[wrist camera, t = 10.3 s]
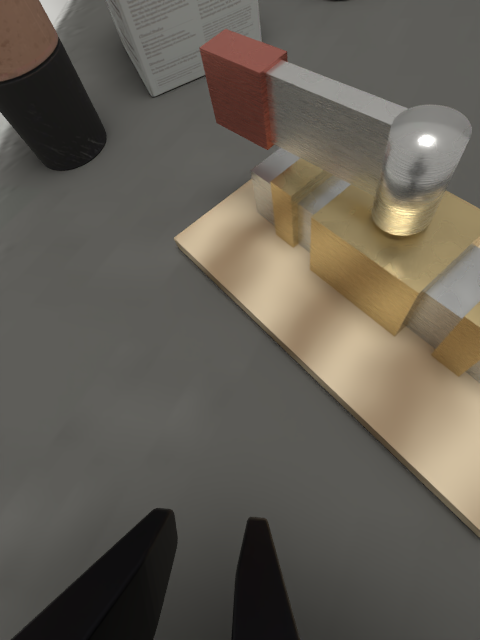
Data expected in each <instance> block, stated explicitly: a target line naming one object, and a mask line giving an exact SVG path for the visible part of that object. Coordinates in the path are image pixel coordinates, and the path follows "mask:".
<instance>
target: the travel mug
mask: <svg viewBox="0 0 480 640" xmlns="http://www.w3.org/2000/svg"><path fill="white" fill-rule="evenodd" d="M0 112H1V113H2V115H3V116H4V117H5V118H6V119H7V121H8V122H9V123H10V124H11V125H12V127H13V128H14V129H15V130H16V131H17V133H18V134H19V135H20V136H21V138H22V139H23V140H24V141H25V142H26V144H27V145H28V146H29V147H30V148H31V150H32V151H33V152H34V153H35V154H36V156H37V157H38V158H39V159H40V160H41V161H42V162H43V164H45V165H46V166H47V167H49V168H51V169H54V170H69V169H73V168H76V167H79V166H81V165H83V164H85V163H87V162H89V161H90V160H92V159H93V158H94V157H95V156H96V155H97V154H98V153H99V152H100V151H101V150H102V148H103V146H104V144H105V142H106V132H105V129H104V127H103V125H102V123H101V121H100V119H99V117H98V115H97V113H96V111H95V109H94V107H93V105H92V103H91V101H90V99H89V97H88V95H87V93H86V91H85V89H84V87H83V85H82V83H81V81H80V79H79V77H78V75H77V73H76V71H75V69H74V67H73V65H72V63H71V61H70V59H69V57H68V55H67V53H66V51H65V49H64V47H63V45H62V43H61V41H60V39H59V37H58V35H57V33H56V31H55V29H54V27H53V25H52V23H51V22H50V20H49V18H48V16H47V14H46V13H45V11H44V9H43V7H42V5H41V3H40V1H39V0H0Z"/></svg>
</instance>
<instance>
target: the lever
mask: <svg viewBox="0 0 480 640" xmlns="http://www.w3.org/2000/svg"><path fill="white" fill-rule="evenodd" d="M199 49H200V53H201V58H202V62H203V66H204V71H205V75H206V79H207V84H208V88H209V92H210V97H211V101H212V105H213V109H214V114H215V118H216V122H217V123H218V124H220V125H222V126H224V127H225V128H227V129H229V130H231V131H233V132H235V133H237V134H239V135H240V136H242V137H244V138H246V139H248V140H250V141H252V142H254V143H255V144H257V145H259V146H261V147H263V148H265V149H267V150H268V149H269V148H271V147H272V146H273V145H276V146H278V147H280V148H282V149H284V150H286V151H288V152H290V153H292V154H294V155H296V156H298V157H299V158H301V159H303V160H305V161H307V162H309V163H311V164H313V165H315V166H317V167H319V168H321V169H323V170H324V171H326V172H328V173H330V174H332V175H334V176H336V177H338V178H340V179H342V180H344V181H346V182H348V183H350V184H351V185H353V186H355V187H357V188H359V189H361V190H363V191H365V192H367V193H369V194H371V195H373V196H375V197H374V201H373V205H372V210H371V215H372V219H373V221H374V222H375V224H376V225H377V226H378V227H379V228H380V229H382V230H383V231H385V232H387V233H390V234H394V235H399V236H407V235H413V234H417V233H419V232H421V231H423V230H424V229H426V228H427V227H428V226H429V224H430V223H431V221H432V219H433V217H434V215H435V213H436V210H437V208H438V206H439V204H440V202H441V199H442V197H443V195H444V193H445V191H446V189H447V186H448V184H449V182H450V180H451V178H452V176H453V173H454V171H455V169H456V167H457V165H458V162H459V160H460V158H461V156H462V154H463V152H464V149H465V147H466V145H467V143H468V141H469V139H470V136H471V132H472V128H471V124H470V122H469V120H468V119H467V118H466V117H465V116H464V115H463V114H462V113H460V112H459V111H457V110H455V109H453V108H450V107H446V106H442V105H420V106H416V107H412V108H409V109H408V108H405V107H403V106H400V105H397V104H395V103H392V102H390V101H387V100H384V99H382V98H379V97H377V96H374V95H371V94H369V93H366V92H364V91H361V90H358V89H356V88H353V87H351V86H348V85H345V84H343V83H340V82H338V81H335V80H332V79H330V78H327V77H325V76H322V75H319V74H317V73H314V72H312V71H309V70H306V69H304V68H301V67H299V66H296V65H293V64H291V63H288V62H287V51H284V50H282V49H279V48H276V47H274V46H271V45H268V44H265V43H263V42H260V41H257V40H255V39H252V38H249V37H246V36H244V35H241V34H238V33H236V32H233V31H230V30H228V29H224V30H223V31H222V32H220V33H219V34H217V35H216V36H215V37H213V38H212V39H210V40H209V41H208V42H206V43H205V44H204V45H202V46H201V47H199Z"/></svg>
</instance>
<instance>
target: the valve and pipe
mask: <svg viewBox="0 0 480 640" xmlns="http://www.w3.org/2000/svg"><path fill="white" fill-rule="evenodd" d="M251 176H252V182H253V188H254V195H255V201H256V207H257V213H259V214H260V215H261V216H263V217H264V218H265V219H267V220H268V221H269V222H270V223H272V224H273V225H274V226H275V230H276V235H277V236H278V237H280V238H281V239H282V240H284V241H285V242H286V243H287V244H289V245H290V246H291V247H293V248H294V247H295V246H297V245H298V244H299V245H300V246H302V247H303V248H304V249H306V250H307V251H308V252H310V270H311V271H312V272H314V273H315V274H316V275H317V276H319V277H320V278H321V279H322V280H324V281H325V282H326V283H327V284H329V285H330V286H331V287H332V288H334V289H335V290H336V291H337V292H339V293H340V294H341V295H343V296H344V297H345V298H346V299H348V300H349V301H350V302H351V303H353V304H354V305H355V306H356V307H358V308H359V309H360V310H361V311H363V312H364V313H365V314H366V315H368V316H369V317H370V318H371V319H373V320H374V321H375V322H377V323H378V324H379V325H380V326H382V327H383V328H384V329H385V330H387V331H388V332H389V333H390V334H392V335H393V336H394V337H395V336H396V335H397V334H398V333H399V332H400V331H401V330H402V329H403V328H404V327H405V326H406V327H407V328H409V329H410V330H411V331H413V332H414V333H415V334H417V335H418V336H419V337H420V338H422V339H423V340H424V341H426V342H427V343H428V344H430V345H431V346H432V347H434V348H435V350H434V352H433V353H432V354H431V356H432V357H434V358H435V359H436V360H437V361H439V362H440V363H441V364H442V365H444V366H445V367H446V368H448V369H449V370H450V371H451V372H453V373H454V374H455V375H457V376H458V377H459V376H460V375H462V374H463V373H464V372H466V373H467V374H469V375H470V376H471V377H473V378H474V379H475V380H477V381H478V382H479V383H480V248H478V247H479V245H480V209H479V208H477V207H475V206H473V205H471V204H470V203H468V202H466V201H464V200H462V199H460V198H459V197H457V196H455V195H453V194H451V193H449V192H448V191H445V193H444V195H443V197H442V199H441V202H440V204H439V206H438V208H437V210H436V213H435V215H434V217H433V219H432V221H431V223H430V224H429V226H428V227H427V228H426V229H424V230H423V231H421V232H419V233H417V234H413V235H407V236H399V235H394V234H390V233H387V232H385V231H383V230H382V229H380V228H379V227H378V226H377V225H376V224H375V222H374V221H373V219H372V215H371V210H372V205H373V201H374V197H375V196H373V195H371V194H369V193H367V192H365V191H363V190H361V189H359V188H357V187H355V186H353V185H351V184H350V183H348V182H346V181H344V180H342V179H340V178H338V177H336V176H334V175H332V174H330V173H328V172H326V171H324V170H323V169H321V168H319V167H317V166H315V165H313V164H311V163H309V162H307V161H305V160H303V159H301V158H299V157H298V156H296V155H294V154H292V153H290V152H288V151H286V150H284V149H282V148H280V149H278V150H277V151H276V152H274V153H273V154H272V155H270V156H269V157H268V158H266V159H265V160H264V161H262V162H261V163H260V164H258V165H257V166H256V167H254V168H253V169H252V170H251Z"/></svg>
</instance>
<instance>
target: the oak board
mask: <svg viewBox="0 0 480 640" xmlns="http://www.w3.org/2000/svg"><path fill="white" fill-rule="evenodd" d="M174 240H175V242H176V244H177V246H178V248H179V249H180V250H181V251H182V252H183V253H184V254H186V255H187V256H188V257H189V258H190V259H191V260H192V261H193V262H194V263H195V264H196V265H197V266H198V267H199V268H200V269H201V270H202V271H203V272H204V273H205V274H206V275H207V276H208V277H209V278H210V279H211V280H213V281H214V282H215V283H216V284H217V285H218V286H219V287H220V288H221V289H222V290H223V291H224V292H225V293H226V294H227V295H228V296H229V297H230V298H231V299H232V300H233V301H234V302H235V303H236V304H237V305H238V306H239V307H241V308H242V309H243V310H244V311H245V312H246V313H247V314H248V315H249V316H250V317H251V318H252V319H253V320H254V321H255V322H256V323H257V324H258V325H259V326H260V327H261V328H262V329H263V330H264V331H265V332H266V333H267V334H269V335H270V336H271V337H272V338H273V339H274V340H275V341H276V342H277V343H278V344H279V345H280V346H281V347H282V348H283V349H284V350H285V351H286V352H287V353H288V354H289V355H290V356H291V357H292V358H293V359H294V360H295V361H297V362H298V363H299V364H300V365H301V366H302V367H303V368H304V369H305V370H306V371H307V372H308V373H309V374H310V375H311V376H312V377H313V378H314V379H315V380H316V381H317V382H318V383H319V384H320V385H321V386H322V387H323V388H325V389H326V390H327V391H328V392H329V393H330V394H331V395H332V396H333V397H334V398H335V399H336V400H337V401H338V402H339V403H340V404H341V405H342V406H343V407H344V408H345V409H346V410H347V411H348V412H349V413H350V414H351V415H353V416H354V417H355V418H356V419H357V420H358V421H359V422H360V423H361V424H362V425H363V426H364V427H365V428H366V429H367V430H368V431H369V432H370V433H371V434H372V435H373V436H374V437H375V438H376V439H377V440H378V441H380V442H381V443H382V444H383V445H384V446H385V447H386V448H387V449H388V450H389V451H390V452H391V453H392V454H393V455H394V456H395V457H396V458H397V459H398V460H399V461H400V462H401V463H402V464H403V465H404V466H405V467H406V468H408V469H409V470H410V471H411V472H412V473H413V474H414V475H415V476H416V477H417V478H418V479H419V480H420V481H421V482H422V483H423V484H424V485H425V486H426V487H427V488H428V489H429V490H430V491H431V492H432V493H433V494H434V495H436V496H437V497H438V498H439V499H440V500H441V501H442V502H443V503H444V504H445V505H446V506H447V507H448V508H449V509H450V510H451V511H452V512H453V513H454V514H455V515H456V516H457V517H458V518H459V519H460V520H461V521H462V522H464V523H465V524H466V525H467V526H468V527H469V528H470V529H471V530H472V531H473V532H474V533H475V534H476V535H477V536H478V537H479V538H480V383H479V382H478V381H477V380H475V379H474V378H473V377H471V376H470V375H469V374H467V373H466V372H464V373H463V374H462V375H460V376H459V377H458V376H457V375H455V374H454V373H453V372H451V371H450V370H449V369H448V368H446V367H445V366H444V365H442V364H441V363H440V362H439V361H437V360H436V359H435V358H434V357H432V356H431V354H432V353H433V352H434V350H435V348H434V347H432V346H431V345H430V344H428V343H427V342H426V341H424V340H423V339H422V338H420V337H419V336H418V335H417V334H415V333H414V332H413V331H411V330H410V329H409V328H407V327H406V326H405V327H404V328H403V329H402V330H401V331H400V332H399V333H398V334H397V335H396V336H395V337H394V336H393V335H392V334H390V333H389V332H388V331H387V330H385V329H384V328H383V327H382V326H380V325H379V324H378V323H377V322H375V321H374V320H373V319H371V318H370V317H369V316H368V315H366V314H365V313H364V312H363V311H361V310H360V309H359V308H358V307H356V306H355V305H354V304H353V303H351V302H350V301H349V300H348V299H346V298H345V297H344V296H343V295H341V294H340V293H339V292H337V291H336V290H335V289H334V288H332V287H331V286H330V285H329V284H327V283H326V282H325V281H324V280H322V279H321V278H320V277H319V276H317V275H316V274H315V273H314V272H312V271H311V270H310V252H308V251H307V250H306V249H304V248H303V247H302V246H300V245H299V244H298V245H297V246H295V247H294V248H293V247H291V246H290V245H289V244H287V243H286V242H285V241H284V240H282V239H281V238H280V237H278V236H277V235H276V230H275V226H274V225H273V224H272V223H270V222H269V221H268V220H267V219H265V218H264V217H263V216H261V215H260V214H259V213H257V207H256V201H255V195H254V188H253V182H252V179H251V180H249V181H248V182H247V183H245V184H244V185H243V186H242V187H240V188H239V189H238V190H236V191H235V192H234V193H232V194H231V195H230V196H228V197H227V198H226V199H224V200H223V201H222V202H220V203H219V204H218V205H217V206H215V207H214V208H213V209H211V210H210V211H209V212H207V213H206V214H205V215H203V216H202V217H201V218H199V219H198V220H197V221H196V222H194V223H193V224H192V225H190V226H189V227H188V228H186V229H185V230H184V231H182V232H181V233H180V234H178V235H177V236H176V237H174ZM478 248H480V245H479V247H478Z"/></svg>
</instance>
